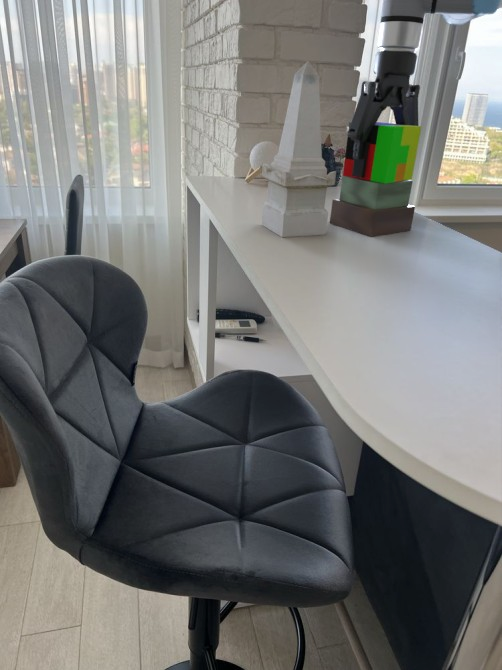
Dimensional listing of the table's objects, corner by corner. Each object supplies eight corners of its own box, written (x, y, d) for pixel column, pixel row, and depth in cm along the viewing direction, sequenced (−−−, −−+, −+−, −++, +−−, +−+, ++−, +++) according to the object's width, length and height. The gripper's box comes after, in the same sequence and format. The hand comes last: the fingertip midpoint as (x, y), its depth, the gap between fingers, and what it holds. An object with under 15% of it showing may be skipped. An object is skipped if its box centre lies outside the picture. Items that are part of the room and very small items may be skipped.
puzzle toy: (370, 172, 109) (377, 122, 105) (411, 179, 103) (421, 126, 98) (342, 175, 103) (349, 122, 98) (385, 183, 96) (394, 127, 92)
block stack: (410, 230, 106) (420, 181, 102) (371, 236, 100) (379, 185, 95) (368, 217, 115) (375, 172, 110) (329, 223, 108) (335, 174, 104)
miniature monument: (328, 234, 99) (349, 62, 86) (280, 238, 96) (295, 58, 82) (303, 221, 108) (319, 63, 95) (259, 224, 104) (268, 59, 91)
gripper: (420, 56, 102) (400, 169, 111) (337, 46, 89) (323, 175, 99) (452, 55, 96) (428, 175, 106) (368, 45, 84) (350, 181, 94)
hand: (377, 175), depth 103 cm, fingers closed on puzzle toy, 11 cm apart
